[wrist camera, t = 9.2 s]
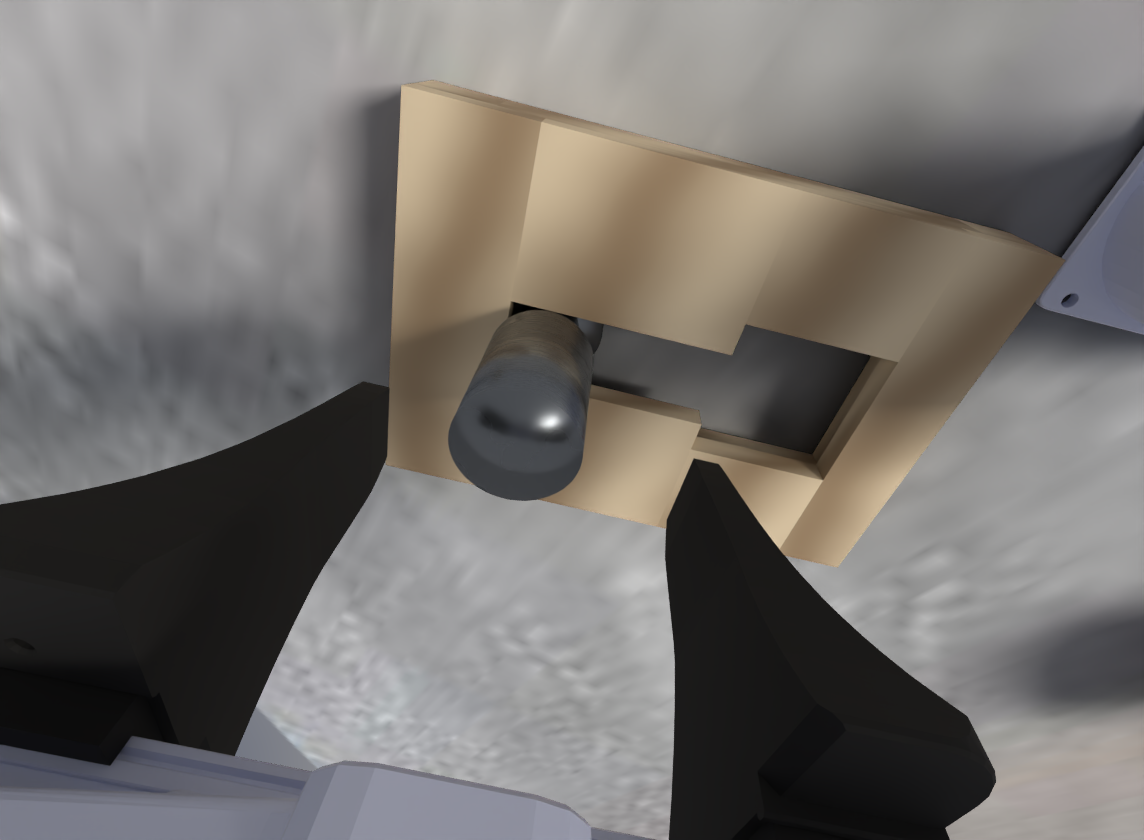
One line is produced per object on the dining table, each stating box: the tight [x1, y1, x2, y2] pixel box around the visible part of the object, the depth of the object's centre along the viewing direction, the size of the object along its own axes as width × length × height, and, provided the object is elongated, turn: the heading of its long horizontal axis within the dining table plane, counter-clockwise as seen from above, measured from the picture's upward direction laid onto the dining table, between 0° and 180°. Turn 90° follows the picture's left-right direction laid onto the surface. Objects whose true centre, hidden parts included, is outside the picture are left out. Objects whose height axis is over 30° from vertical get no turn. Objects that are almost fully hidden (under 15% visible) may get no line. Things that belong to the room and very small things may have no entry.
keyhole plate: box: [386, 80, 1066, 567], centre depth 21 cm, size 20×14×3 cm
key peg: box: [448, 302, 603, 501], centre depth 18 cm, size 4×4×9 cm
